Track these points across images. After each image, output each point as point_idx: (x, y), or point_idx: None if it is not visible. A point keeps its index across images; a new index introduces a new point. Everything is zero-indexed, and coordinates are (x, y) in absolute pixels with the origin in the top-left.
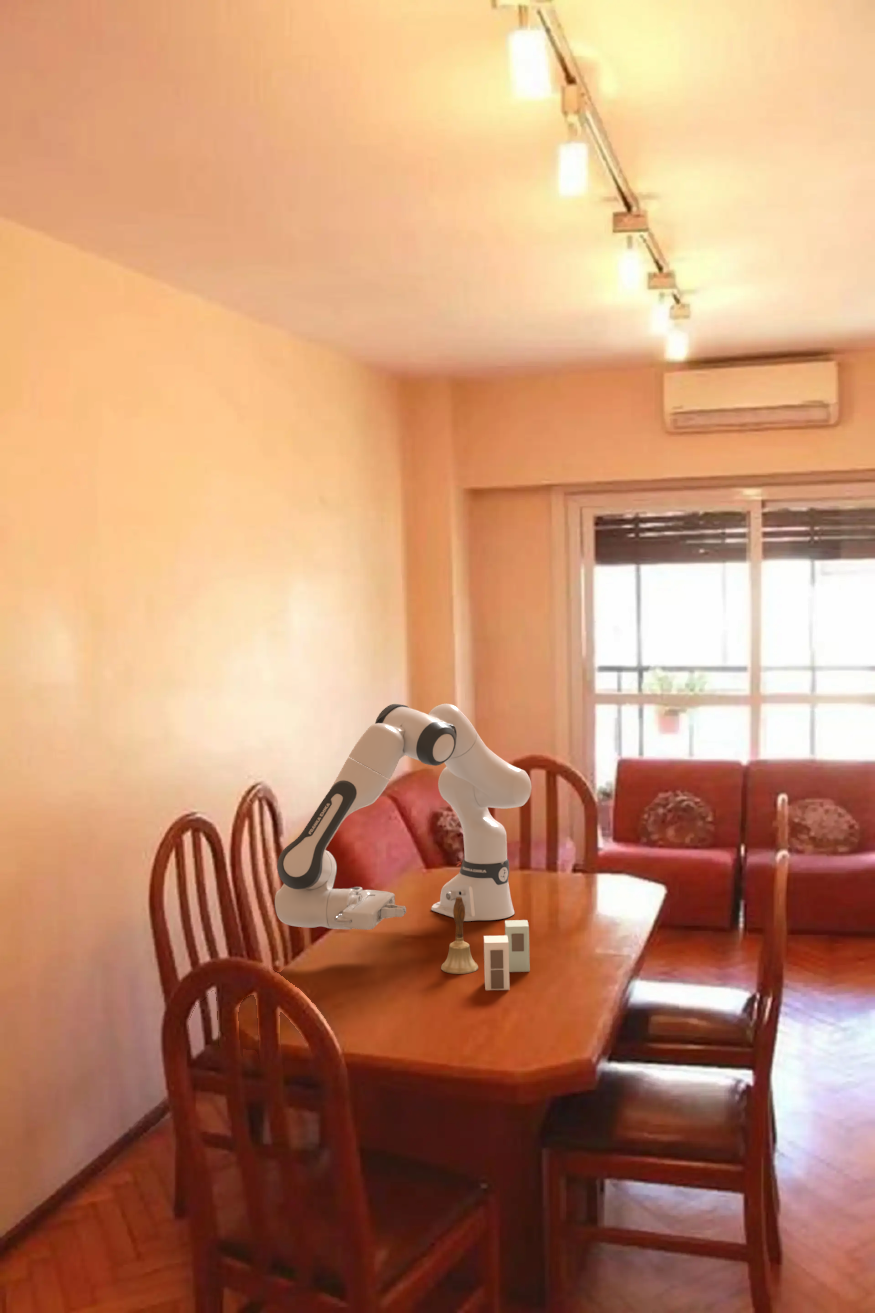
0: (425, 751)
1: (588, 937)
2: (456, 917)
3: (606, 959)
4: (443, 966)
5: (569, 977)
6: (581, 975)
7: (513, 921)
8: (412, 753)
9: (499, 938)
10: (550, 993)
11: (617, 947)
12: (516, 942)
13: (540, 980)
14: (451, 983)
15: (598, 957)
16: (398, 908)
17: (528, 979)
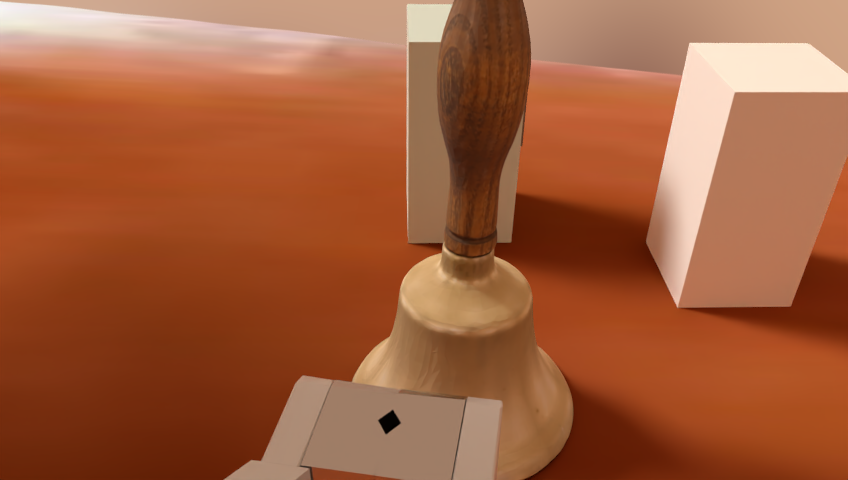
0: None
1: (120, 75)
2: (519, 117)
3: (368, 65)
4: (506, 461)
5: (552, 122)
6: (528, 104)
7: (430, 25)
8: None
9: (756, 57)
10: None
11: (254, 46)
12: None
13: (600, 172)
14: (743, 434)
15: (345, 73)
16: (469, 442)
17: (596, 195)
